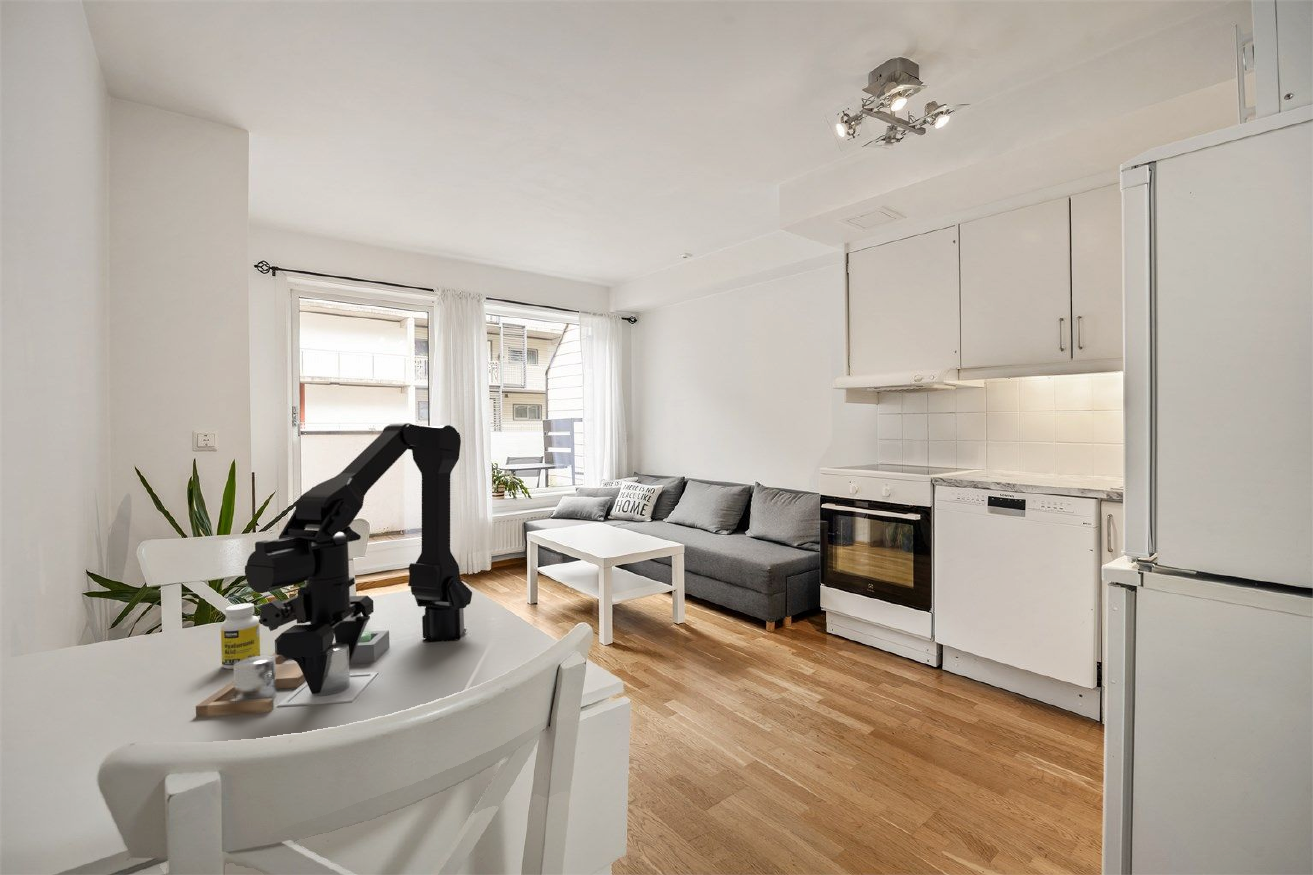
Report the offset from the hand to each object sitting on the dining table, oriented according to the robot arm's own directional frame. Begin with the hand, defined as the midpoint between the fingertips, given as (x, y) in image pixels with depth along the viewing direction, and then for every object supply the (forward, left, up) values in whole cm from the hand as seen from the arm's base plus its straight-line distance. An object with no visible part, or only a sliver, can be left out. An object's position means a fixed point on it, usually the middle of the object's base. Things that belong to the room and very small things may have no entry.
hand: (330, 679), depth 88 cm
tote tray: (0, 0, -2) cm, 2 cm away
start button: (+1, -13, -1) cm, 14 cm away
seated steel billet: (+9, +2, -2) cm, 10 cm away
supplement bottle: (+21, -15, -2) cm, 26 cm away
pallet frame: (+10, -5, -2) cm, 11 cm away
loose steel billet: (0, 0, -1) cm, 1 cm away
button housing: (+1, -14, -2) cm, 14 cm away
